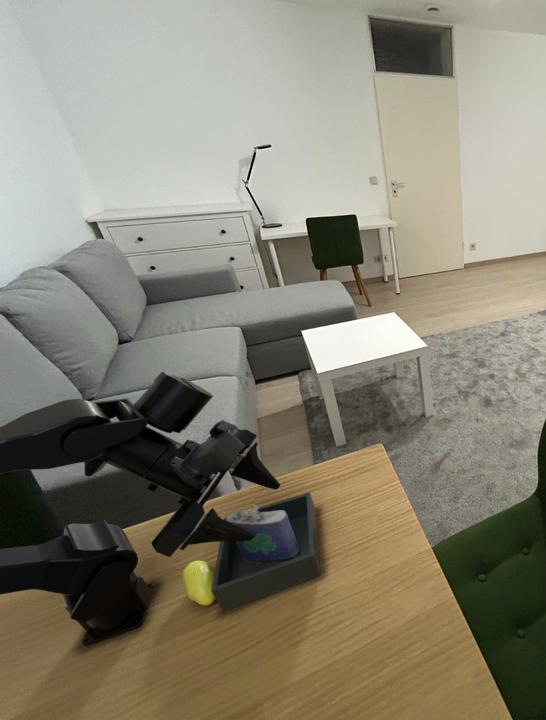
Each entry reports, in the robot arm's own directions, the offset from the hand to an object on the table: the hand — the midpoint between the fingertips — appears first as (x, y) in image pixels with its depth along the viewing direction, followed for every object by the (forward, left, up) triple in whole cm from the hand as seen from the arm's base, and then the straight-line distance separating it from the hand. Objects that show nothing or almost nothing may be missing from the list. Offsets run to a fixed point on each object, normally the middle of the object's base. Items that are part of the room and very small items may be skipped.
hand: (266, 510), depth 58 cm
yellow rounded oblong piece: (-13, -2, -8) cm, 15 cm away
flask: (-2, 0, -10) cm, 10 cm away
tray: (-1, 0, -10) cm, 11 cm away
